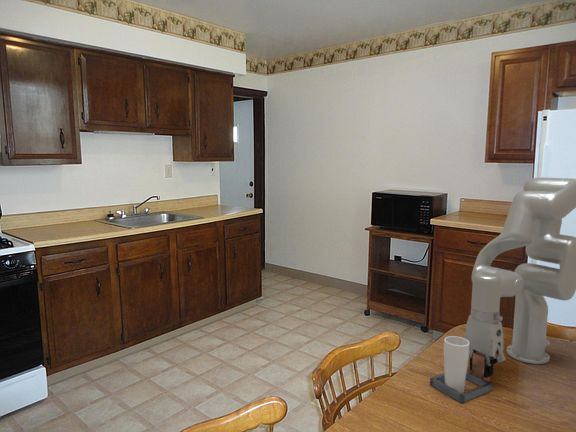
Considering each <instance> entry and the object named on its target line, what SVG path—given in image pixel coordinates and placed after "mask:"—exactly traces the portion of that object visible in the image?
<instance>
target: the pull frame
mask: <svg viewBox="0 0 576 432" xmlns="http://www.w3.org/2000/svg"><path fill="white" fill-rule="evenodd" d="M485 365H486V355H485V354H483V353H481V352H478V351H476V352H473V359H472V371H468V370H467V373H466V381H467V380H468V381H469V382H471V383H474V384H476V385H477V387H474V388H471V389H469V390H467V391H464V392H463V393H462V394H461V393H460V392H458V391H456V390H454V389H452V388H451V387H449V386H447V385H445V384H444V383H445V378H444V372H443V373H440V374H438V375H434V376H432V377H430V378H429V385H430V386H431V387H434V388H435V389H437V390H438V391H440V392H442V393H444V394H445V395H447V396H449V398H450V397H451V398H452V399H454V400H456V401H457V402H459V403H461V404H464V403H466V402H469V401H471V400H473V399H475V398H477V397H480V396H482V395H485V394H487V393H489V392H491V391H493V383H492V382H490V381H491V376H490V377H488V378H485V377H484V366H485Z"/></svg>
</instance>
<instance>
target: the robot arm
mask: <svg viewBox="0 0 576 432" xmlns="http://www.w3.org/2000/svg"><path fill="white" fill-rule="evenodd" d="M575 209H576V178H566V177H565V178H564V177H562V178H561V177H560V178H559V177H533V178H529V179H527V180H525V182H524V184H523V190H522V191H519V192H517V193H516V194H515V195H514V196H513V198H512V201H511V205H510V207H509V210H508V212H507V217H506V219H505V222H504V224H503V227H502V231H501V233H500V234H499V235H498V236H497V237H495V238H494V239H492V240H491V241H489V242H488V243H487V244H486V245H485V246H484V247H483V248H482V249H481V250H480V251H479V252H478V255H477V256H476V260H475V262H474V265H473V269H472V272H471V283H472V288H471V302H470V303H471V305H470V314H469V316H468V318H467V322H466V327H465V332H464V337H463V338H464V339H466V340H468V341H469V343H470V350H469V371H470V372H472V359H473V352H476V351H478V352H481V353H483V354H485V355H486V365H485V366H484V377H485V378H488V377H490V378H491V377H492V376H493V375H494V366H495V365H496V364H497V363H501V362H505V361H506V360H507V359H506V357H505V354H504V329H503V324H502V321H503V316H501V315H500V314H501V313H500V311H501V310H500V307H501V306H500V304H501V298H511V297H515V298H514V299H515V300H514V301H515V302H514V316H513V329H512V341H511V342H512V343H511V344H510V345H508V346H507V347H506V353H507V355H509V356H510V357H511V358H513V359H515V360H517V361H519V362H523V363H527V364H533V365H544V364H547V363H549V362H550V359H551V357H550V355H549V353H548V352H547V351H546V347H549V346H550V345H551V341H549V340H548V339H547V328H548V314H549V305H548V303H547V300H546V298H545V297H547V298H550V299H555V300H558V301H570V300H571V299H572V298H573V297H574V295H575V293H576V236H573V235H568V234H567V235H566V234H561V228H562V224H563V218H566V216H567V215H569V214H570V213H571V212H572V211H574V210H575ZM524 247H525V254H526V256H527V257H529V258H530V259H532V260H535V261H540V262H544V263H550V264H555V265H559V268H557V267H551V266H548V265H547V266H546V265H542V264H537V263H531V262H530V263H528V262H527V263H526V262H525V263H521V264H519V265H518V266H517V267H516V268H515V269H514V271H512V270H508V269H507V270H506V269H502V268H499V267H496V266H495V267H494V266H491V265H492V262H493V261H494V260H495V258H497V256H499V255H501V254H502V253H504V252H507V251H510V250H514V249H518V248H524ZM496 356H497V357H496Z"/></svg>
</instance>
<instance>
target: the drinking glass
mask: <svg viewBox="0 0 576 432" xmlns="http://www.w3.org/2000/svg"><path fill="white" fill-rule="evenodd" d="M464 338H465V337H461V336H455V335H451V336H450V335H449V336H446V337H444V340H443V371H444V372H443V373H444V378H445V381H444V382H443V383H444V384H445V385H447V386H449V387H451V388H452V389H454V390H456V391H458V392H460V393H461V394H462V393H464V392H465V387H466V386H465V385H466V381H467V379H466V373H467V371H468V365H469V362H470V357H469V350H470V343H469V341H468V340H466V339H464Z"/></svg>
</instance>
